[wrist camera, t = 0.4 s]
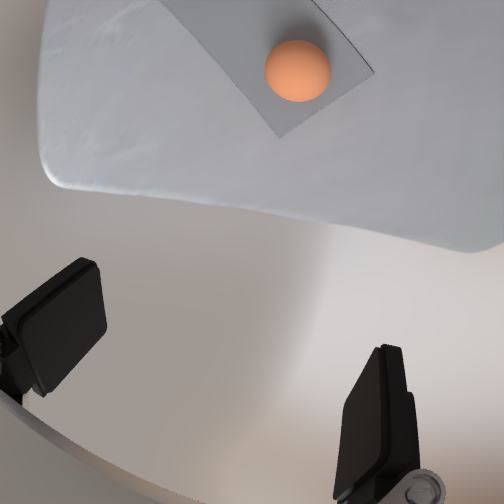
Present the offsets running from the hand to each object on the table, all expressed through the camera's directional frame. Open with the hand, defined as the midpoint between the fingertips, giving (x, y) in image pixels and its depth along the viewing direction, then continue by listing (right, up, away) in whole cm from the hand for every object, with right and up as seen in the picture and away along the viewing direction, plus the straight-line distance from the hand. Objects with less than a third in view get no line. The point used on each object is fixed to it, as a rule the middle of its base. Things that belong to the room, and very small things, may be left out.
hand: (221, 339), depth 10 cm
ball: (+5, +19, +16) cm, 25 cm away
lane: (-1, +29, +16) cm, 34 cm away
